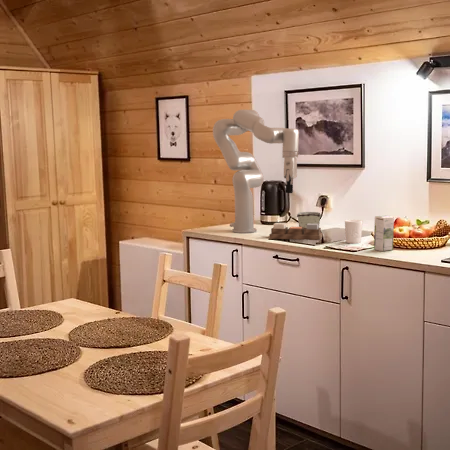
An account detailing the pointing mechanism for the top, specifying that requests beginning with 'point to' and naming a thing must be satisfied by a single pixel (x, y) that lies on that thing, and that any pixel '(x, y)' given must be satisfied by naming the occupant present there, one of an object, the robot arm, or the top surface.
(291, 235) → the key console
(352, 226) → the white cup
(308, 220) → the food container
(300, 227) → the terracotta key
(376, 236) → the syrup box
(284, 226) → the cream key
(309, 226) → the slate key
